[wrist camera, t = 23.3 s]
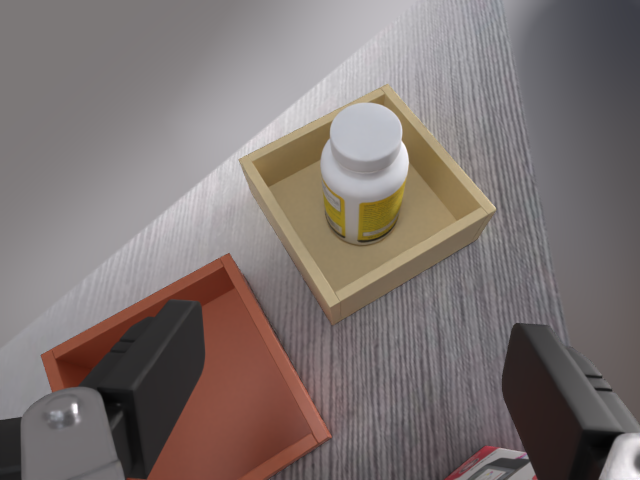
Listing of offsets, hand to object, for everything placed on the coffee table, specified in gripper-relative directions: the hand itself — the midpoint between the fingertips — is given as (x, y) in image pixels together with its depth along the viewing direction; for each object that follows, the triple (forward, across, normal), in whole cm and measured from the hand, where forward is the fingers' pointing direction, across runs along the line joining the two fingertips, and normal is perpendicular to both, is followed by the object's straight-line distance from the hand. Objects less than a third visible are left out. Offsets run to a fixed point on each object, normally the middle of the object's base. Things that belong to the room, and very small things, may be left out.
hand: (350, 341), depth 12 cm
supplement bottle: (+22, 0, +4) cm, 23 cm away
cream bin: (+23, 0, +4) cm, 23 cm away
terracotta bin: (+13, +9, +14) cm, 21 cm away
